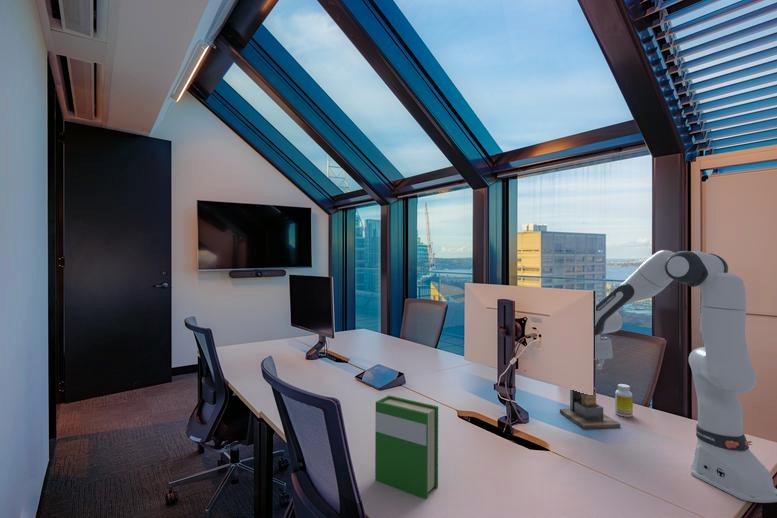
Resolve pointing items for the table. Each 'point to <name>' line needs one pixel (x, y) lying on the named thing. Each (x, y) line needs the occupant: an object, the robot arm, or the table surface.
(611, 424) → the walnut base board
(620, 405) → the supplement bottle
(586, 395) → the oak rail end
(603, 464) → the table surface
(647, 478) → the table surface
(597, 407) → the grey open holder
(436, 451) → the hardback book
